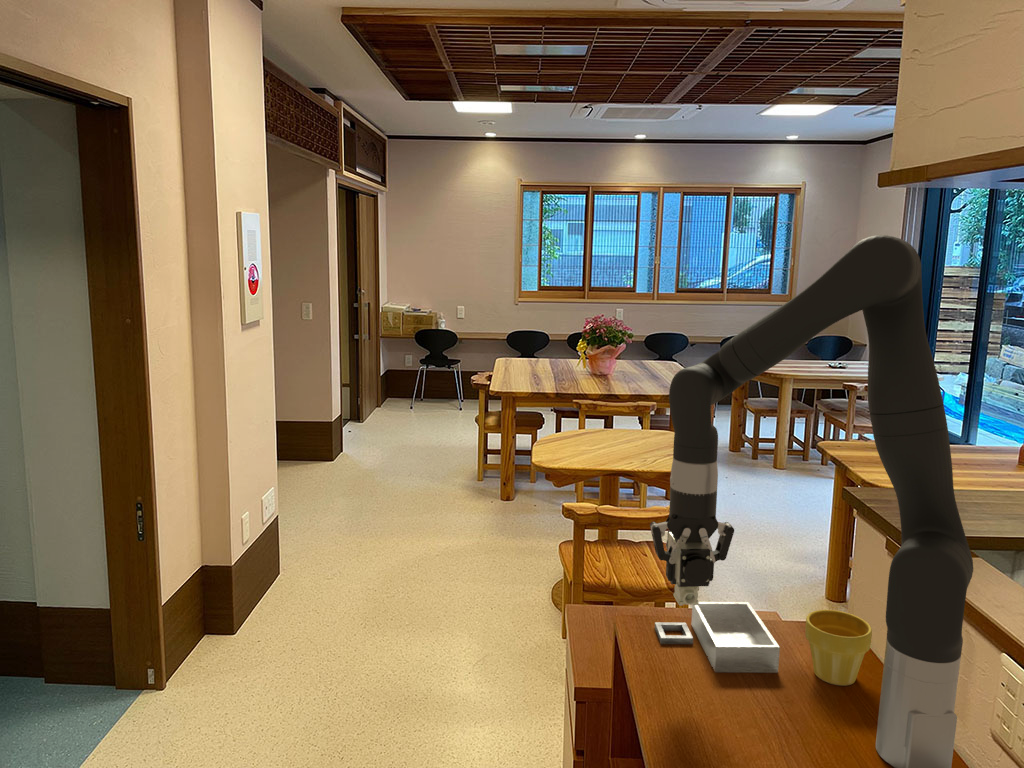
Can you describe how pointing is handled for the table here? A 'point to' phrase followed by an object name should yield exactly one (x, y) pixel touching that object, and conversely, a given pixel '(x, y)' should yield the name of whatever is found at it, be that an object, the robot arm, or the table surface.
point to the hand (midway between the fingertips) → (689, 582)
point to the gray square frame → (673, 639)
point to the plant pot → (837, 644)
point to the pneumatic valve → (690, 570)
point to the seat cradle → (735, 637)
